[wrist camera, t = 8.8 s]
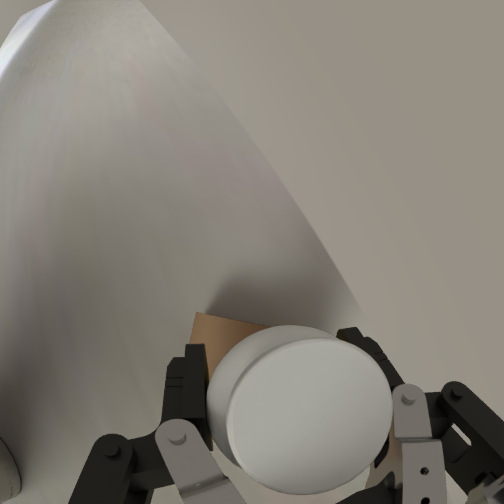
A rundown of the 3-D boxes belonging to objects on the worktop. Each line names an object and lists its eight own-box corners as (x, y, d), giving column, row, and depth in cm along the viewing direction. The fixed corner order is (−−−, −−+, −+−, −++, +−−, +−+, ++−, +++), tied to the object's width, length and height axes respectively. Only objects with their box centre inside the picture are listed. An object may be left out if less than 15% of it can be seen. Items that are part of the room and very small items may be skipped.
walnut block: (180, 421, 21) (172, 431, 17) (200, 320, 24) (196, 312, 20) (286, 438, 21) (298, 450, 17) (303, 339, 24) (318, 334, 21)
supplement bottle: (230, 328, 16) (237, 275, 7) (323, 354, 16) (434, 330, 6) (201, 420, 14) (169, 493, 5) (298, 443, 13) (383, 518, 4)
